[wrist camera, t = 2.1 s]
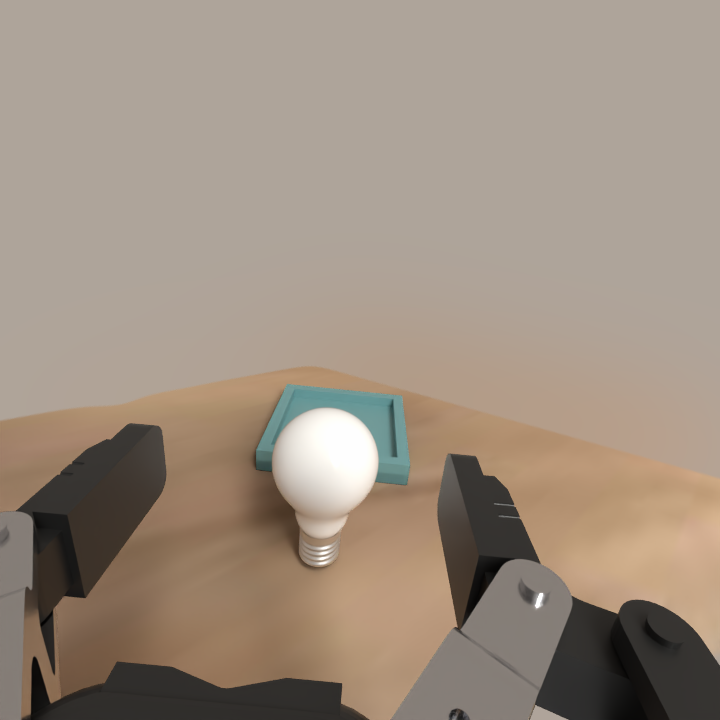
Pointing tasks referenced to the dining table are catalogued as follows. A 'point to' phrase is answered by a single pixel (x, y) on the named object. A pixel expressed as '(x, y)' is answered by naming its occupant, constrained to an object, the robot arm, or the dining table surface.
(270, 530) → the dining table surface
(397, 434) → the tray
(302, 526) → the lightbulb
